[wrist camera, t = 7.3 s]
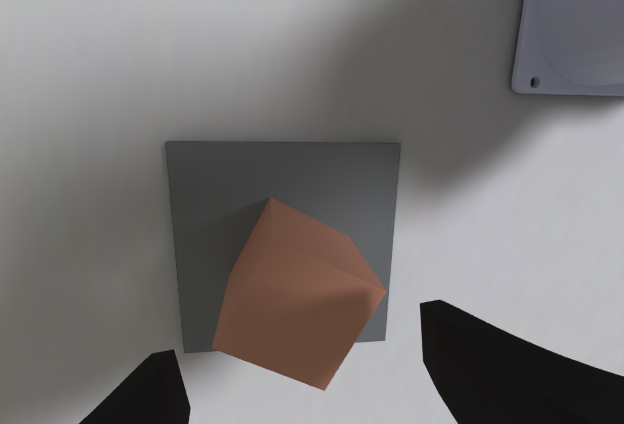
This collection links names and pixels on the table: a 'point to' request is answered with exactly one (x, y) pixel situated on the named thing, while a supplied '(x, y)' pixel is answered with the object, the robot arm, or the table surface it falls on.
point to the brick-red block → (296, 297)
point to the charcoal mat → (252, 200)
